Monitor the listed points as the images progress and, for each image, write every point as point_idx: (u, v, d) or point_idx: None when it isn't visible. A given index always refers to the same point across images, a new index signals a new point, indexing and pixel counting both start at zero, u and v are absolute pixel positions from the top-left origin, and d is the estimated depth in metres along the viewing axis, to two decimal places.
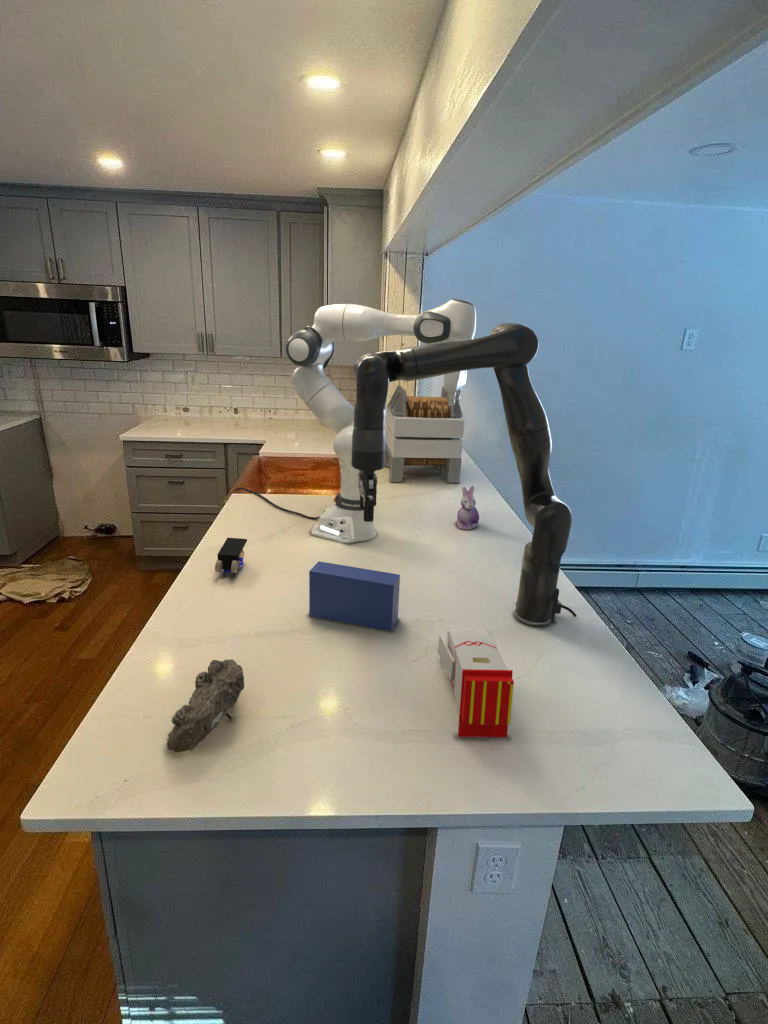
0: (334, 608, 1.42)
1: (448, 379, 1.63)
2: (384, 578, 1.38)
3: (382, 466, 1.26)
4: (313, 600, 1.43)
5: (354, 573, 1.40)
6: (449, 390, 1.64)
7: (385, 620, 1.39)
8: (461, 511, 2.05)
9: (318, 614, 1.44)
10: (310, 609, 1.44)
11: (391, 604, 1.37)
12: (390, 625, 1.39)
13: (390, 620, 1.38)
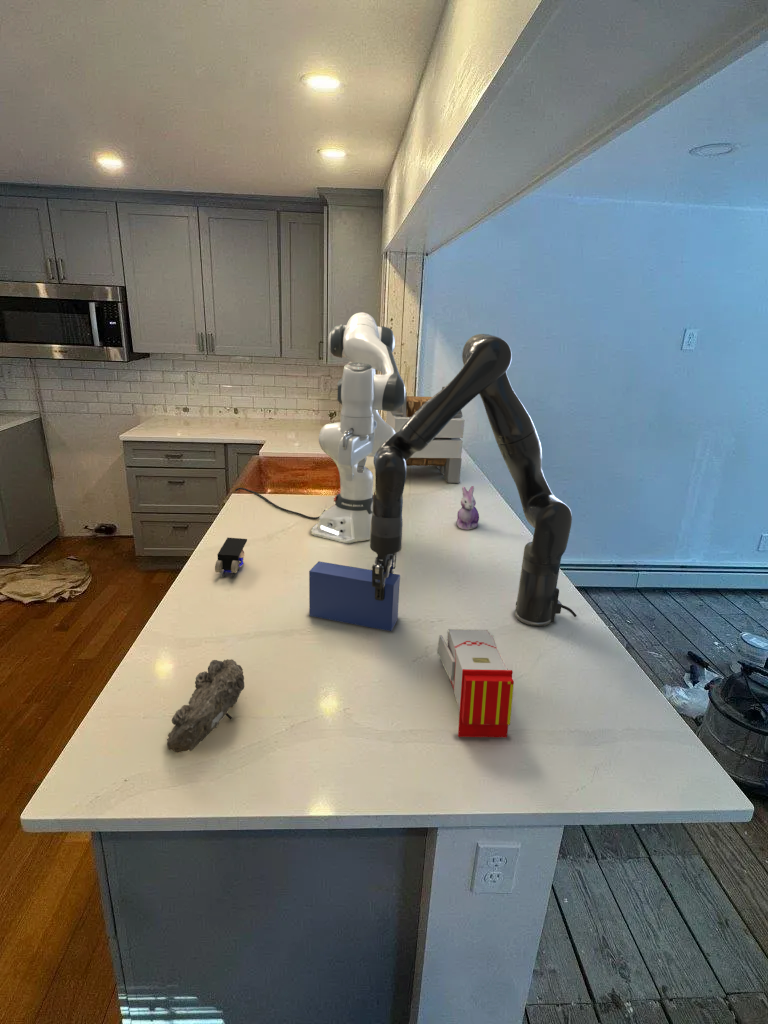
0: (334, 608, 1.42)
1: None
2: None
3: (395, 551, 1.33)
4: (313, 600, 1.43)
5: (354, 573, 1.40)
6: None
7: (385, 620, 1.39)
8: (461, 511, 2.05)
9: (318, 614, 1.44)
10: (310, 609, 1.44)
11: (391, 604, 1.37)
12: (390, 625, 1.39)
13: (390, 620, 1.38)
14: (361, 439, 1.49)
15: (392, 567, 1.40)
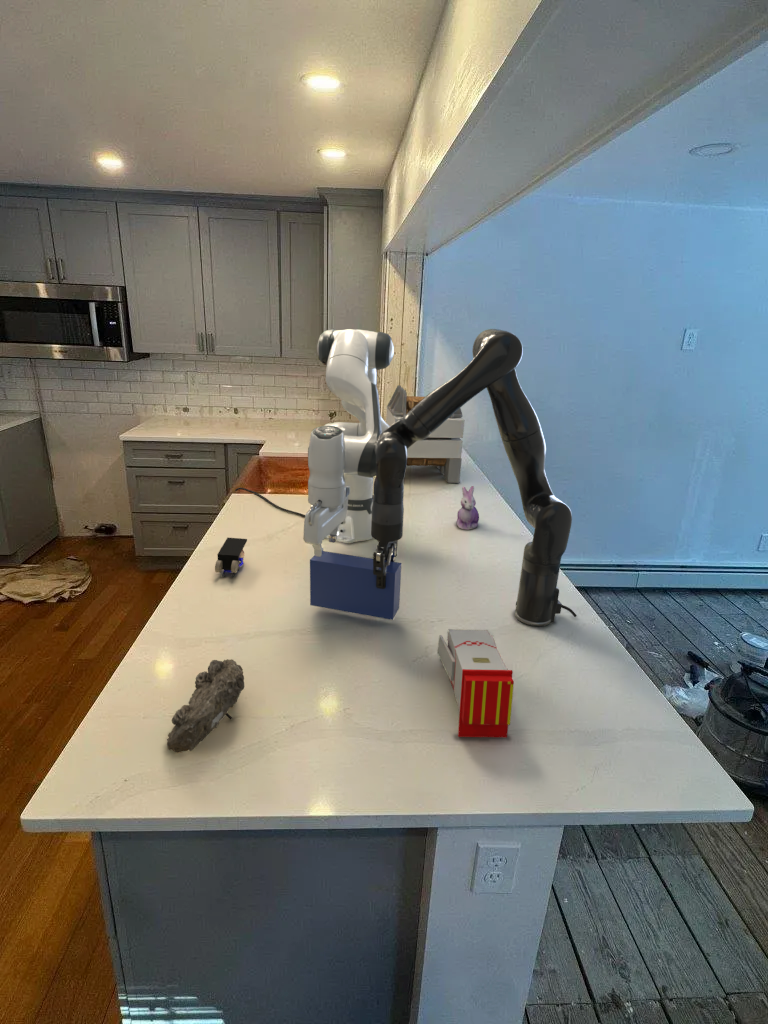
0: (335, 597, 1.41)
1: None
2: None
3: (396, 538, 1.32)
4: (314, 589, 1.42)
5: (355, 562, 1.39)
6: None
7: (387, 609, 1.38)
8: (461, 511, 2.05)
9: (319, 603, 1.43)
10: (311, 598, 1.43)
11: (392, 592, 1.36)
12: (392, 614, 1.38)
13: (392, 609, 1.37)
14: (331, 510, 1.34)
15: (393, 555, 1.39)
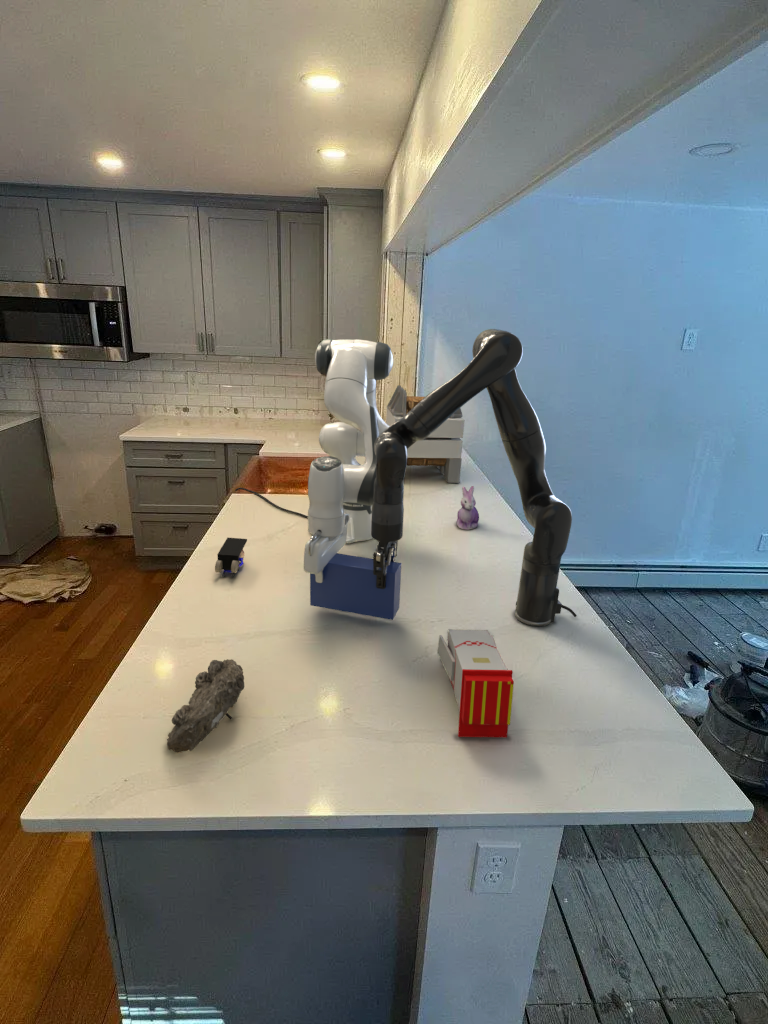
0: (335, 597, 1.41)
1: None
2: None
3: (396, 538, 1.32)
4: (314, 589, 1.42)
5: (355, 562, 1.39)
6: None
7: (387, 609, 1.38)
8: (461, 511, 2.05)
9: (319, 603, 1.43)
10: (311, 598, 1.43)
11: (393, 592, 1.36)
12: (392, 614, 1.38)
13: (392, 609, 1.37)
14: (330, 539, 1.37)
15: (393, 555, 1.39)
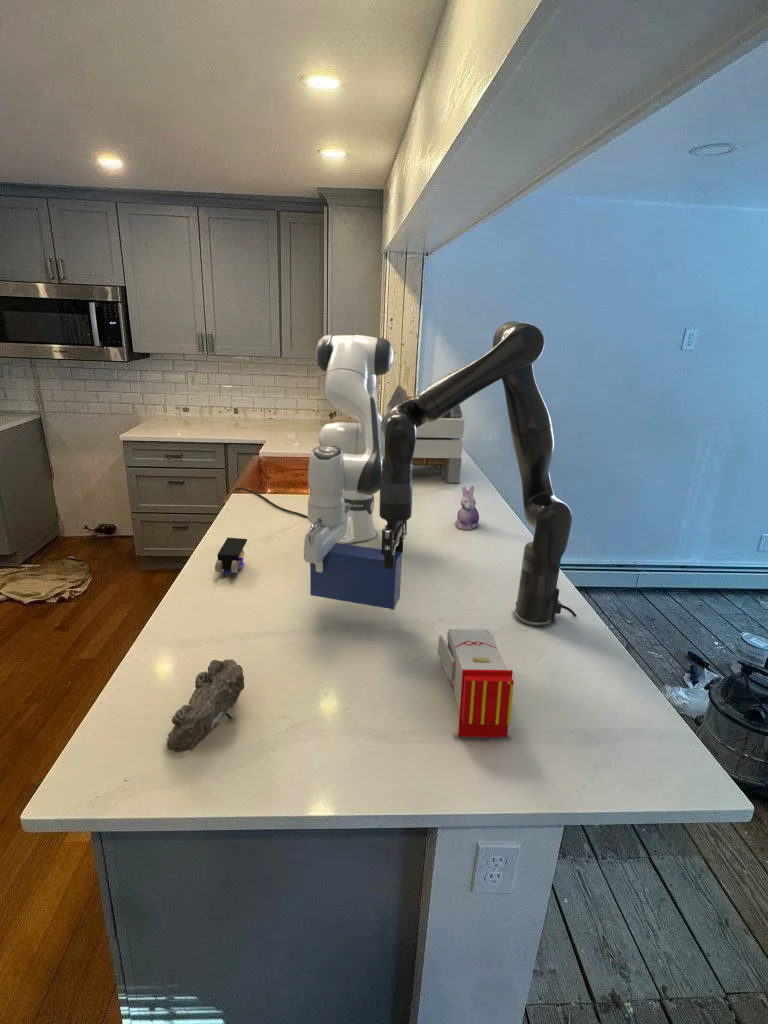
0: (336, 587, 1.40)
1: None
2: None
3: (405, 518, 1.30)
4: (314, 578, 1.41)
5: (356, 551, 1.38)
6: None
7: (388, 598, 1.37)
8: (461, 511, 2.05)
9: (320, 593, 1.42)
10: (311, 588, 1.42)
11: (393, 581, 1.35)
12: (392, 603, 1.37)
13: (392, 598, 1.37)
14: (330, 529, 1.36)
15: (403, 534, 1.37)
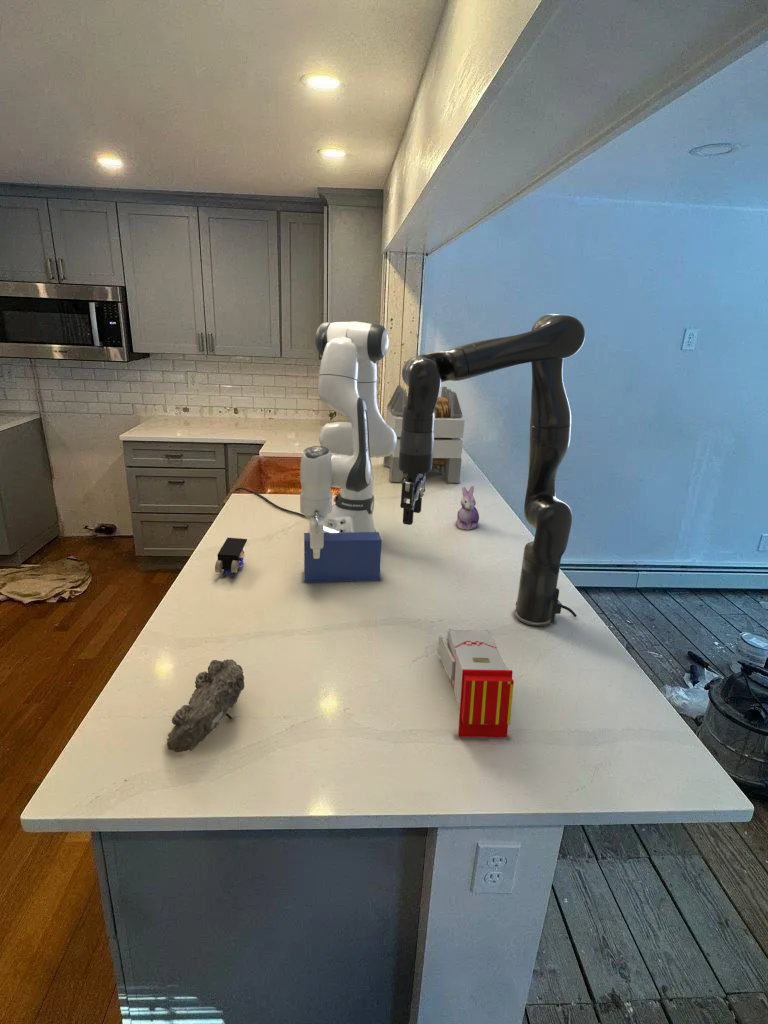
0: (328, 570, 1.62)
1: None
2: (369, 536, 1.63)
3: (426, 470, 1.25)
4: (308, 566, 1.61)
5: (343, 537, 1.62)
6: None
7: (374, 571, 1.64)
8: (461, 511, 2.05)
9: (313, 578, 1.62)
10: (305, 575, 1.62)
11: (379, 556, 1.63)
12: (379, 575, 1.65)
13: (378, 570, 1.64)
14: (323, 518, 1.57)
15: (422, 490, 1.32)
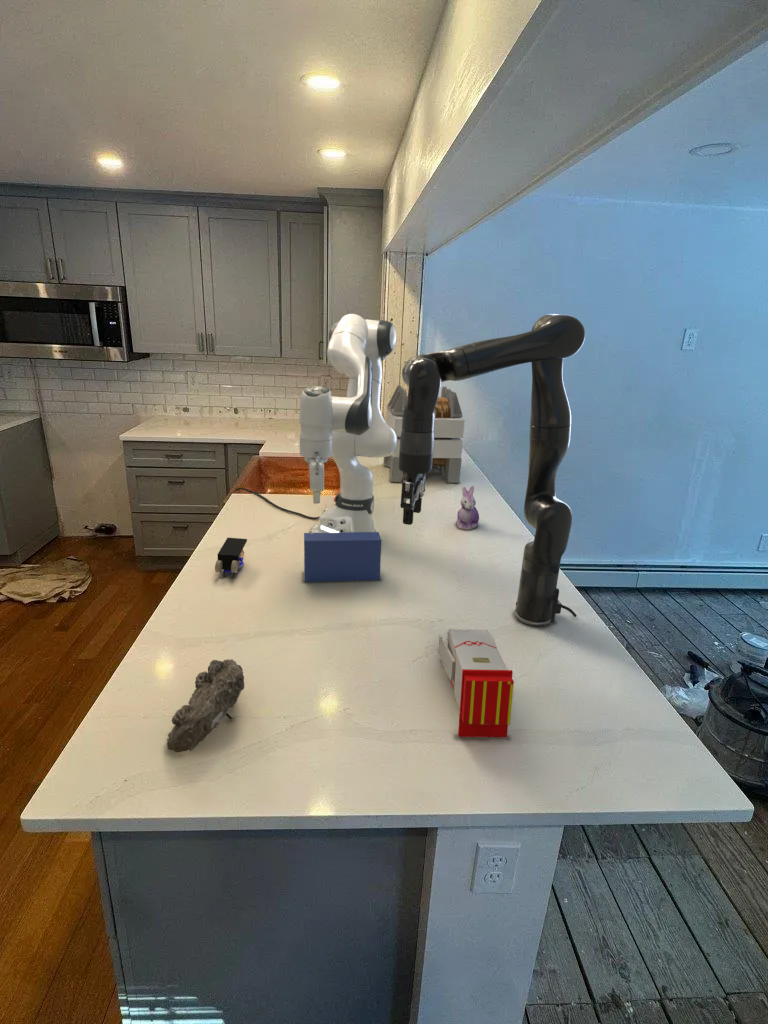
0: (328, 570, 1.62)
1: None
2: (369, 536, 1.63)
3: (426, 470, 1.25)
4: (308, 566, 1.61)
5: (343, 537, 1.62)
6: None
7: (374, 571, 1.64)
8: (461, 511, 2.05)
9: (313, 578, 1.62)
10: (305, 575, 1.62)
11: (379, 556, 1.63)
12: (379, 575, 1.65)
13: (378, 570, 1.64)
14: (324, 461, 1.52)
15: (422, 490, 1.32)
